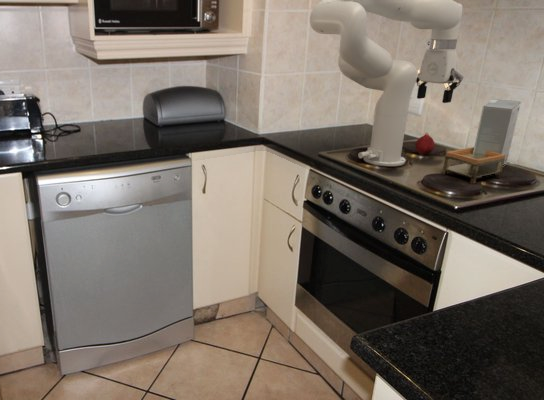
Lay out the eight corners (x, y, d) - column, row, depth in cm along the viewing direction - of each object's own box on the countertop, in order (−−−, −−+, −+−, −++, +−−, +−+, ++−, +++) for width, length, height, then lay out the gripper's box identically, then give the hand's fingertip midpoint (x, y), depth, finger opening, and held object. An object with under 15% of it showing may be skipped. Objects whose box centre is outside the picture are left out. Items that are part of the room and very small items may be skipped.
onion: (435, 158, 161) (440, 134, 158) (420, 158, 160) (425, 135, 157) (424, 153, 166) (429, 130, 163) (409, 153, 165) (414, 131, 162)
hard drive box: (479, 159, 157) (493, 98, 150) (506, 164, 152) (522, 101, 145) (468, 170, 146) (482, 105, 139) (496, 175, 141) (513, 108, 134)
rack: (473, 184, 135) (478, 160, 133) (442, 174, 144) (446, 151, 141) (500, 178, 140) (505, 154, 137) (468, 169, 148) (473, 147, 146)
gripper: (411, 44, 156) (403, 97, 162) (459, 47, 141) (448, 105, 147) (427, 43, 159) (419, 95, 165) (476, 46, 144) (465, 103, 150)
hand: (433, 100), depth 156 cm, fingers open, 9 cm apart
